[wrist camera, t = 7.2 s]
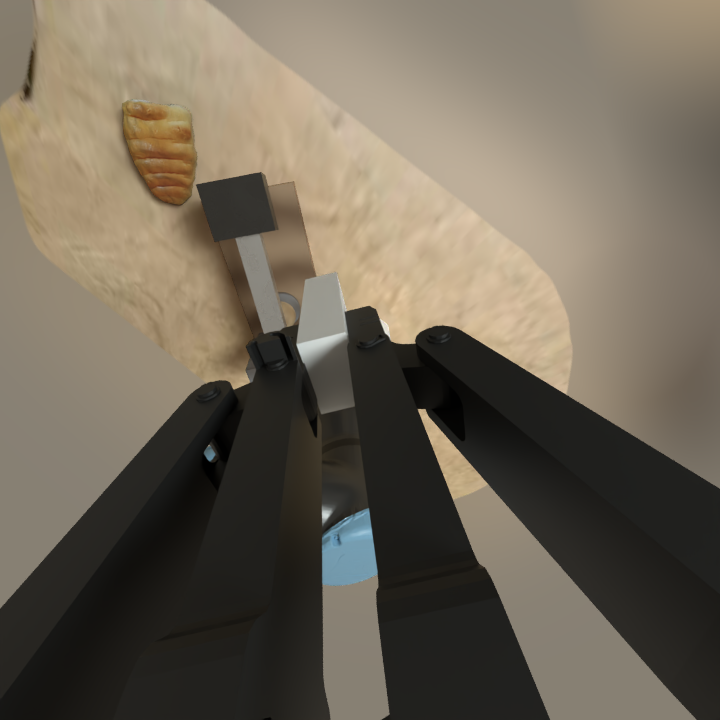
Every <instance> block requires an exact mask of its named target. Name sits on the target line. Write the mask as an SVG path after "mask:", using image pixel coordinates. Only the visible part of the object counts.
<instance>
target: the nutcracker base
mask: <svg viewBox="0 0 720 720" xmlns="http://www.w3.org/2000/svg"><path fill="white" fill-rule="evenodd" d="M268 188H269V192H270V196H271V200H272V204H273V208H274V212H275V216H276V220H277V224H278V228H279V230H275V231H270V232H265V233H262V235H263V239H264V243H265V246H266V250H267V254H268V257H269V261H270V265H271V268H272V272H273V276H274V280H275V283H276V287H277V291H278V294H279V298H280V302H281V305H282V309H283V313H284V317H285V320H286V324H287V327H289V326H293V325H297V324H299V321H300V314H301V307H302V299H303V292H304V285H305V280H306V279H310V278H314V277H316V273H315V269H314V265H313V261H312V256H311V252H310V248H309V243H308V239H307V235H306V231H305V226H304V222H303V218H302V214H301V209H300V205H299V201H298V197H297V192H296V188H295V184H294V181H293V182H288V183H283V184H278V185H272V186H268ZM219 244H220V247H221V249H222V252H223V255H224V257H225V260H226V263H227V266H228V268H229V271H230V274H231V277H232V279H233V282H234V285H235V287H236V290H237V293H238V296H239V298H240V301H241V304H242V307H243V309H244V312H245V315H246V317H247V320H248V323H249V326H250V328H251V331H252V334H253V337H254V338H256V337H258V336H260V335H262V334H264V332H263V329H262V325H261V322H260V319H259V315H258V312H257V309H256V306H255V302H254V299H253V296H252V292H251V289H250V286H249V282H248V279H247V276H246V272H245V269H244V266H243V262H242V259H241V256H240V252H239V249H238V246H237V242H236V239H235V238H233V239H228V240H223V241H219ZM255 372H256V368H255V366H254V364H253V362H252V359H251V357H250V359H249V362H248V365H247V368H246V373H247V375H248V378H249V380H250V383H251V382H253V378H254V375H255Z"/></svg>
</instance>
